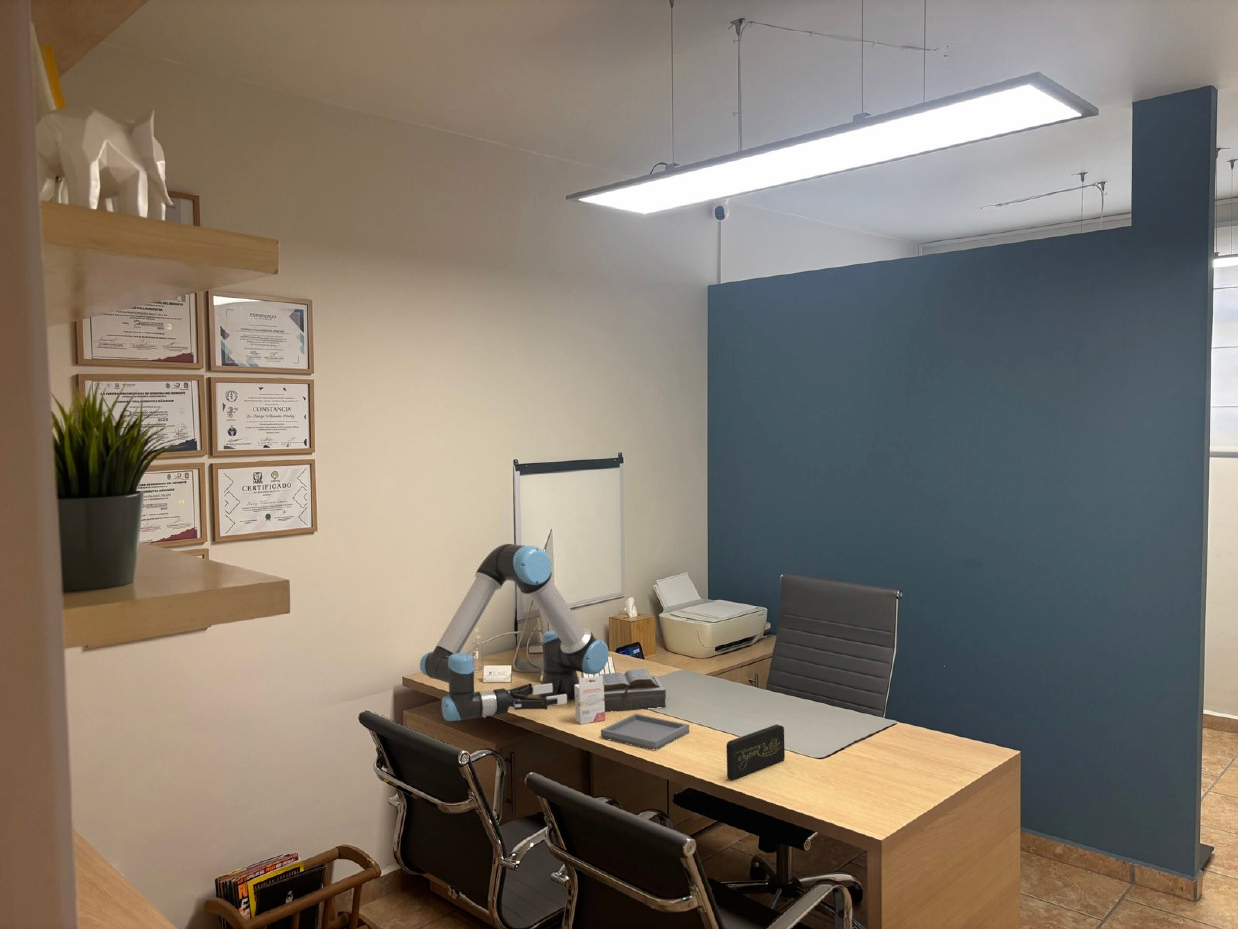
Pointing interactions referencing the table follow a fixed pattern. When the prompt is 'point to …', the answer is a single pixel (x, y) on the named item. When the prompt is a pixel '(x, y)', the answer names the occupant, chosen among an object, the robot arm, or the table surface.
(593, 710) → the ink cartridge box
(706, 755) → the table surface
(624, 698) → the bible
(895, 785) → the table surface
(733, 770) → the nameplate
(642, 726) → the desk tray
